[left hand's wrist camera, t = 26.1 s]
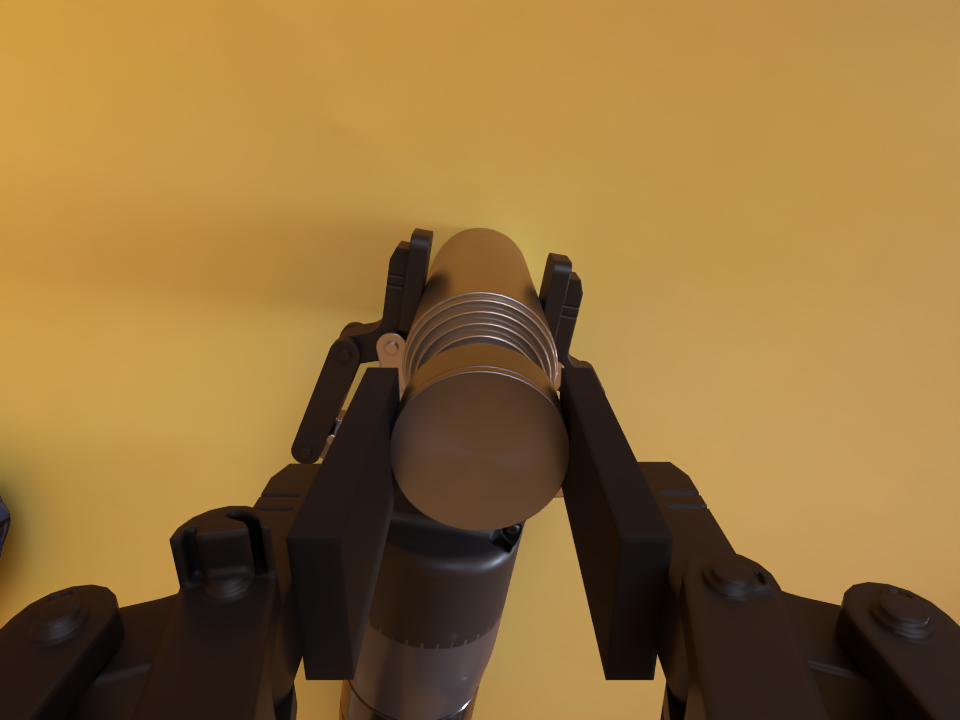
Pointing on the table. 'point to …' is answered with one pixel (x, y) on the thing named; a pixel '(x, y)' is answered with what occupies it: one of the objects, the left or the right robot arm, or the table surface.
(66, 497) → the table surface
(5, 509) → the toy dinosaur
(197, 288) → the table surface
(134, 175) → the table surface
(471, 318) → the bottle
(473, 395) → the cap
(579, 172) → the table surface
